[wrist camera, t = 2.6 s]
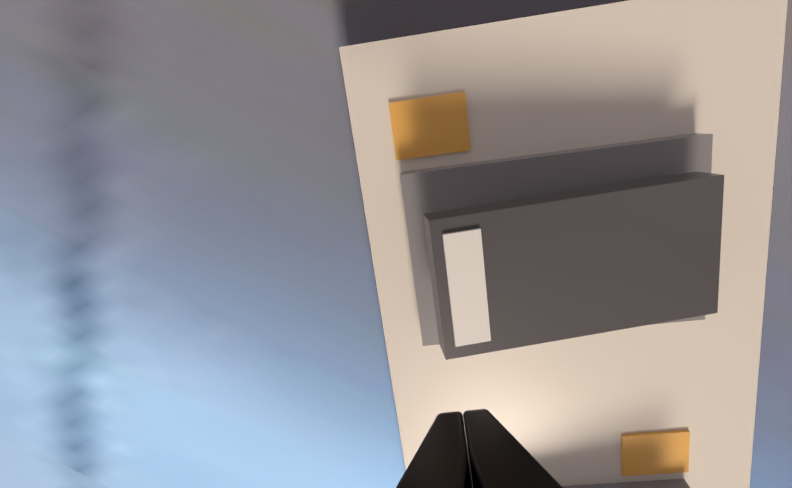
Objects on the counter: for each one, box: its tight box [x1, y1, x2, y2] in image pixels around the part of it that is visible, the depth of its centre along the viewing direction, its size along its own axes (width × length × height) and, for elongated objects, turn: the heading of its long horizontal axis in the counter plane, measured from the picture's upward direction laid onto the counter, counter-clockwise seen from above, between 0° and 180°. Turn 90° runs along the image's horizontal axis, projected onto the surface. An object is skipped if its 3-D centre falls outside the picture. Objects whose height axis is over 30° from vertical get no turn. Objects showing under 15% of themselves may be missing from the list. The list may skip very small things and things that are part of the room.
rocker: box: [423, 171, 724, 360], centre depth 13 cm, size 8×4×1 cm, turn 98°
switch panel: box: [339, 0, 788, 488], centre depth 17 cm, size 13×25×3 cm, turn 8°
